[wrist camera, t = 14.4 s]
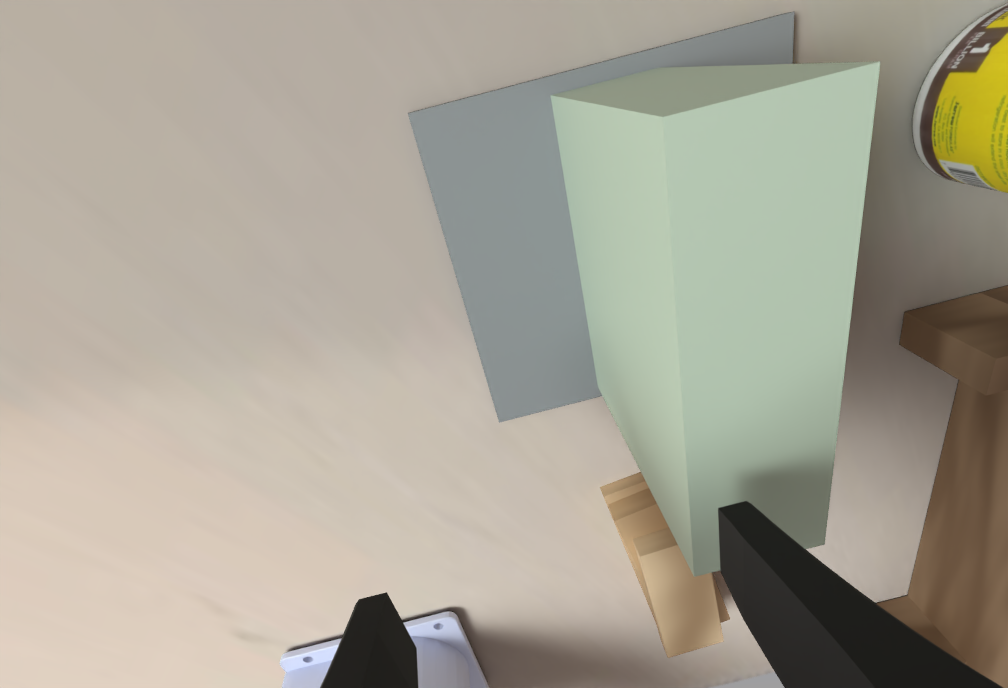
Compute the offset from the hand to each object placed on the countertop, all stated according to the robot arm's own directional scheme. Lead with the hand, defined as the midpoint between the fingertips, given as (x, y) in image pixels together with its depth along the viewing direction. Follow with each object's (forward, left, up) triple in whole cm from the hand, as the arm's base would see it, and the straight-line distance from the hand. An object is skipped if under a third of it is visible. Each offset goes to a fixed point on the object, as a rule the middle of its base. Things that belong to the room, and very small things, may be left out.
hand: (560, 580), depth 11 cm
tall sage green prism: (+5, +3, -10) cm, 12 cm away
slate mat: (+5, +3, -10) cm, 12 cm away
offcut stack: (+5, -14, -11) cm, 19 cm away
